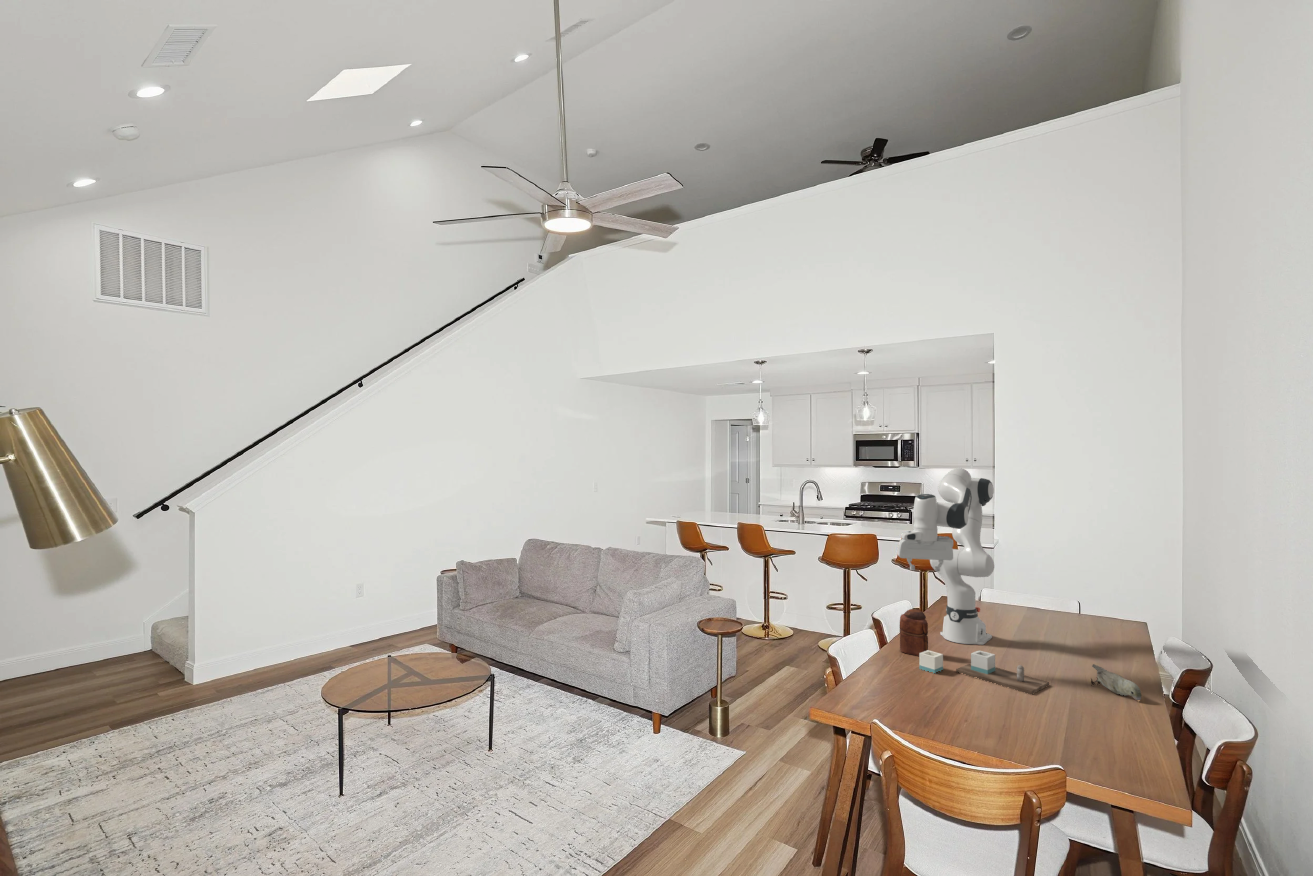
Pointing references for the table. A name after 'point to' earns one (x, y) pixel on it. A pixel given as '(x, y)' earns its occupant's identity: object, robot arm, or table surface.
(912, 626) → the brown leather case
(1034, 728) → the table surface
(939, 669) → the cream sleeve
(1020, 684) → the pin board
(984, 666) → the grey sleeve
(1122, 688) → the decorative bird
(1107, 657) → the table surface
